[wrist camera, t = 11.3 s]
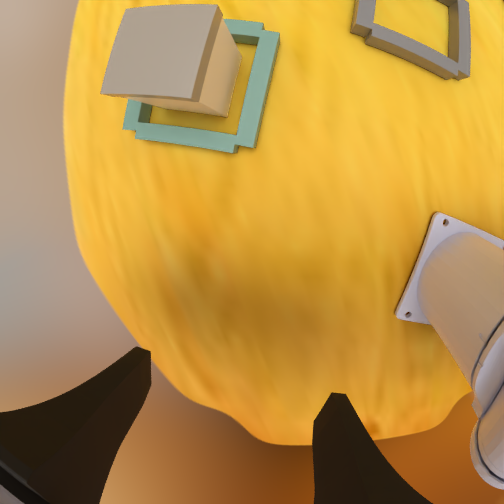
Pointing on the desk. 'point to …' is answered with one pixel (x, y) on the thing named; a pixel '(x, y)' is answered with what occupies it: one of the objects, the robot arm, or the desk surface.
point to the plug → (174, 59)
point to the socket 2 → (414, 50)
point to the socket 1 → (252, 106)
